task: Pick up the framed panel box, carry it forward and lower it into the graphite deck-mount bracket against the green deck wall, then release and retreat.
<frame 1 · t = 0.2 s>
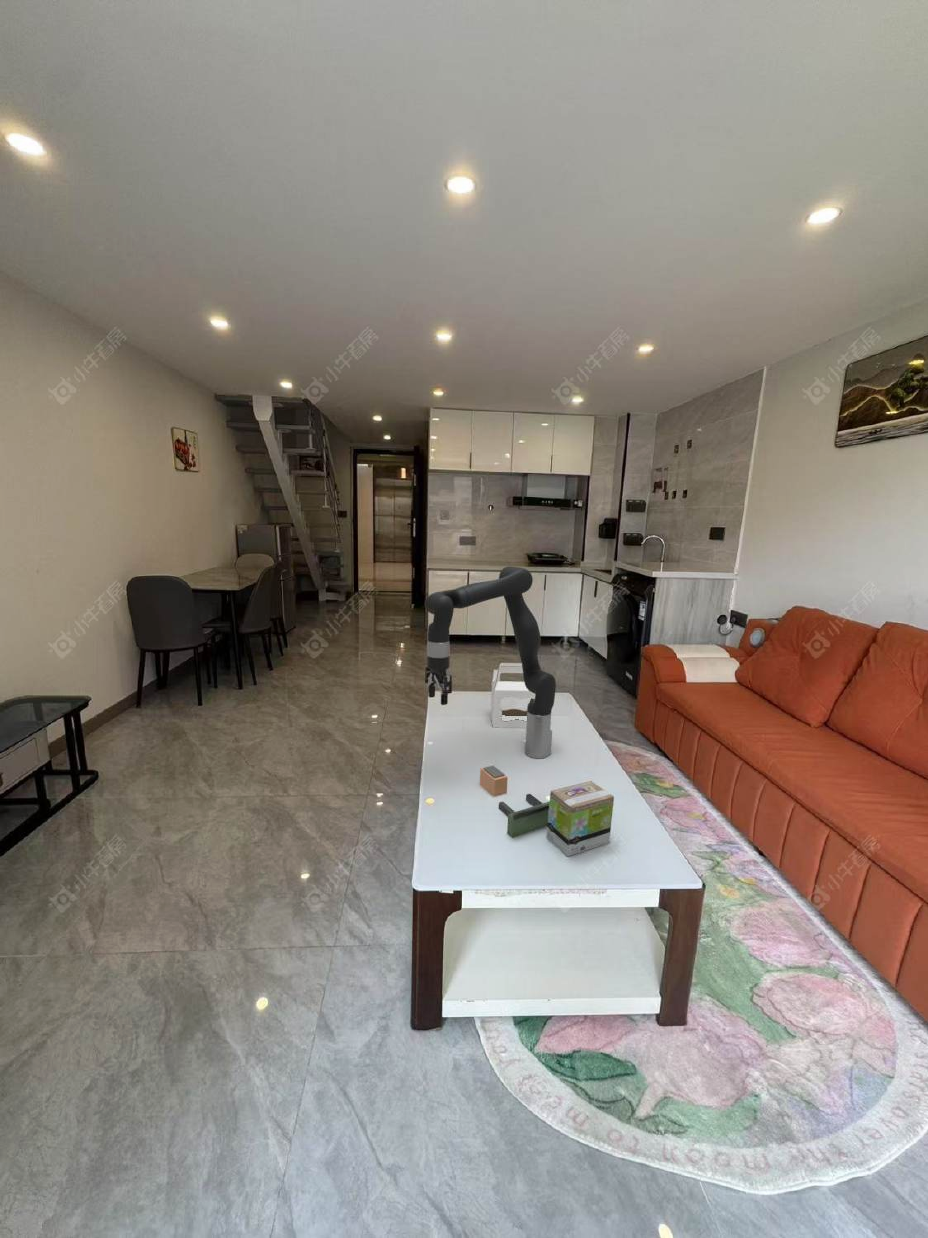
hand: (437, 700, 168), 29 cm above the table, fingers open, 8 cm apart
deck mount: (525, 813, 154), on the table
tea box: (578, 841, 141), on the table
framed panel box: (493, 789, 168), on the table
gable box: (515, 723, 226), on the table
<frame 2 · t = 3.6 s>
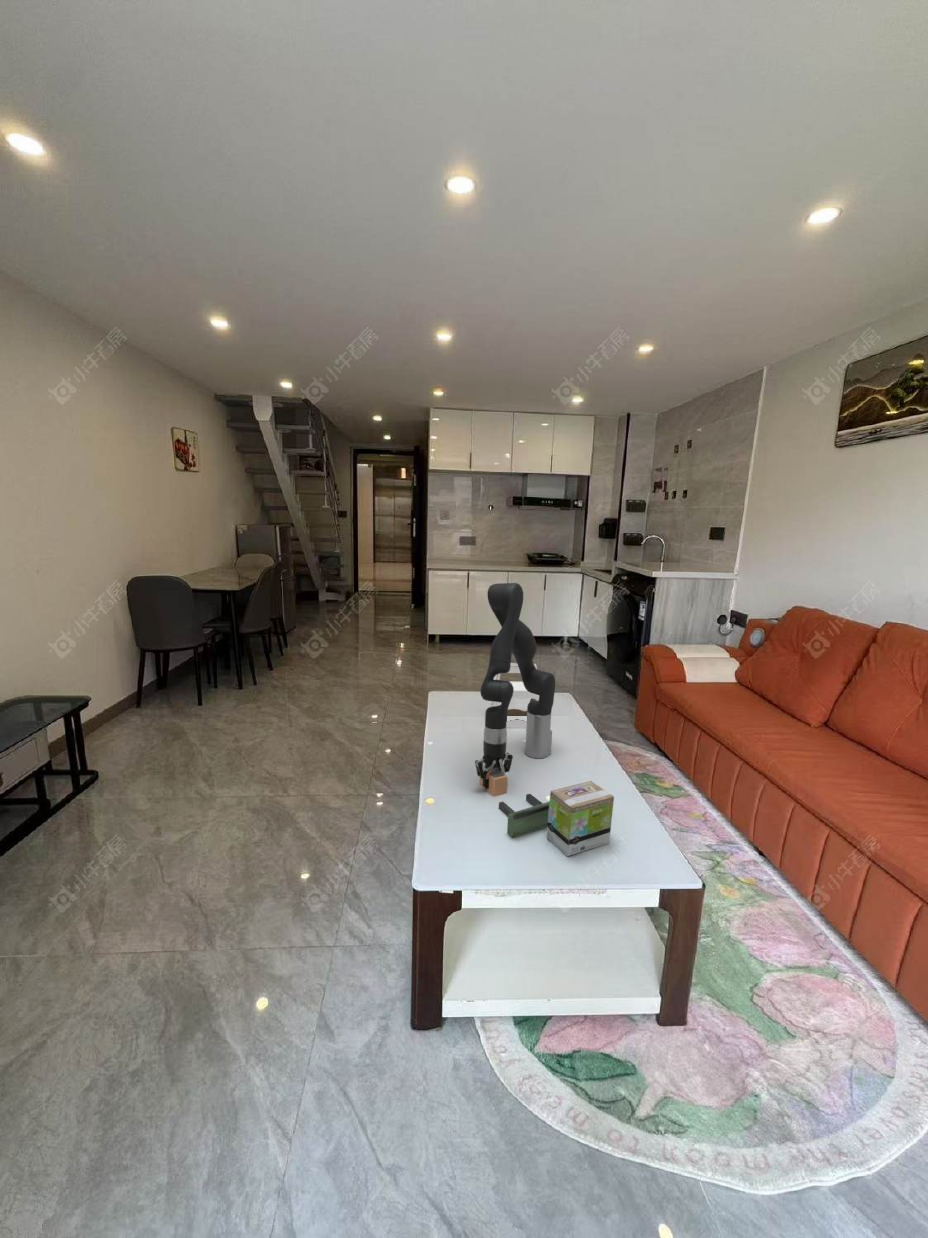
hand: (493, 786, 168), 1 cm above the table, fingers closed on framed panel box, 5 cm apart
framed panel box: (493, 788, 168), on the table, touching gripper
everything else where it was.
when the fingers open (3 cm above the table, at t = 8.5 s): framed panel box drops 2 cm, resting in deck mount.
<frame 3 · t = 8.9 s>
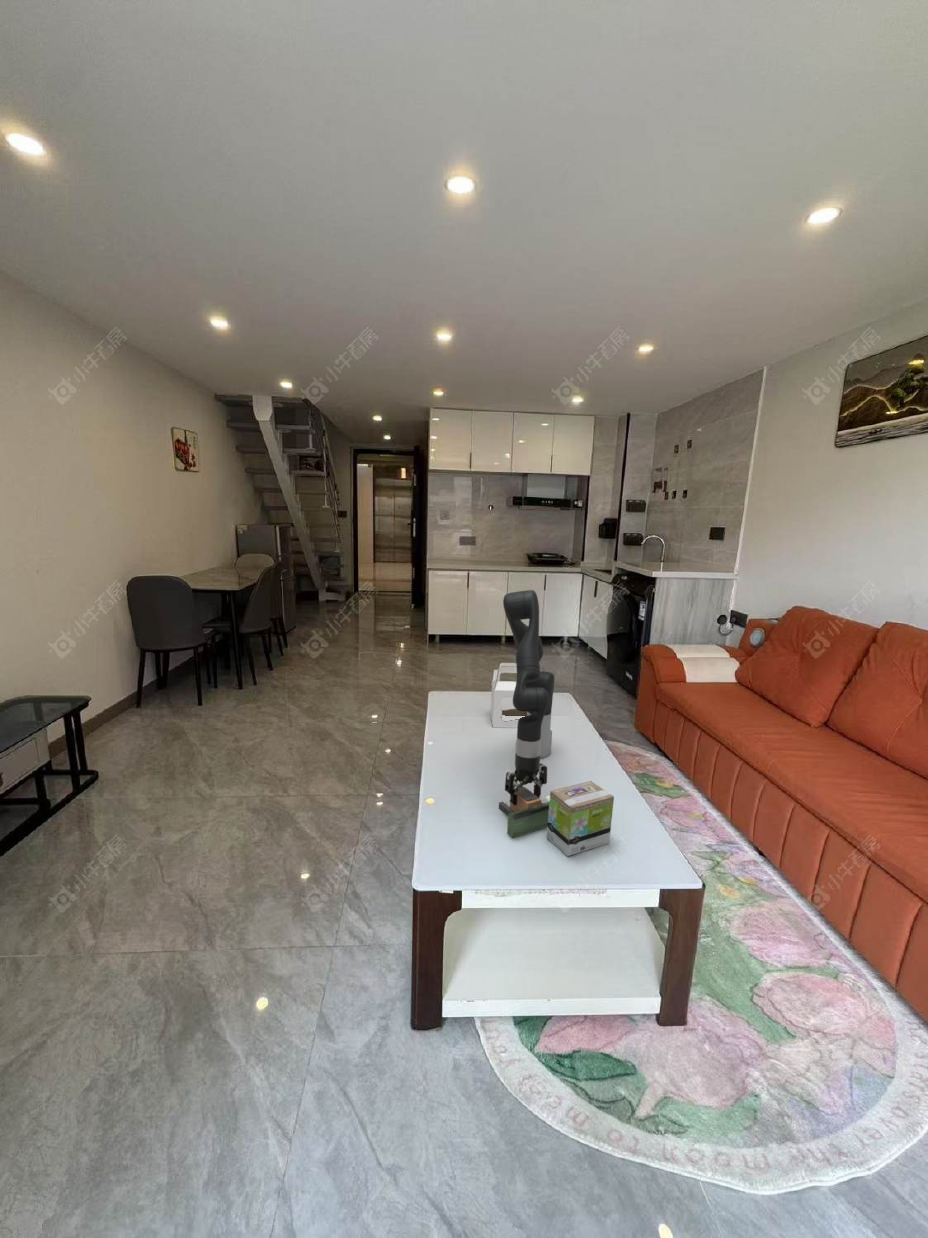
hand: (525, 800, 153), 4 cm above the table, fingers open, 8 cm apart
framed panel box: (524, 812, 154), resting in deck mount
everything else where it was.
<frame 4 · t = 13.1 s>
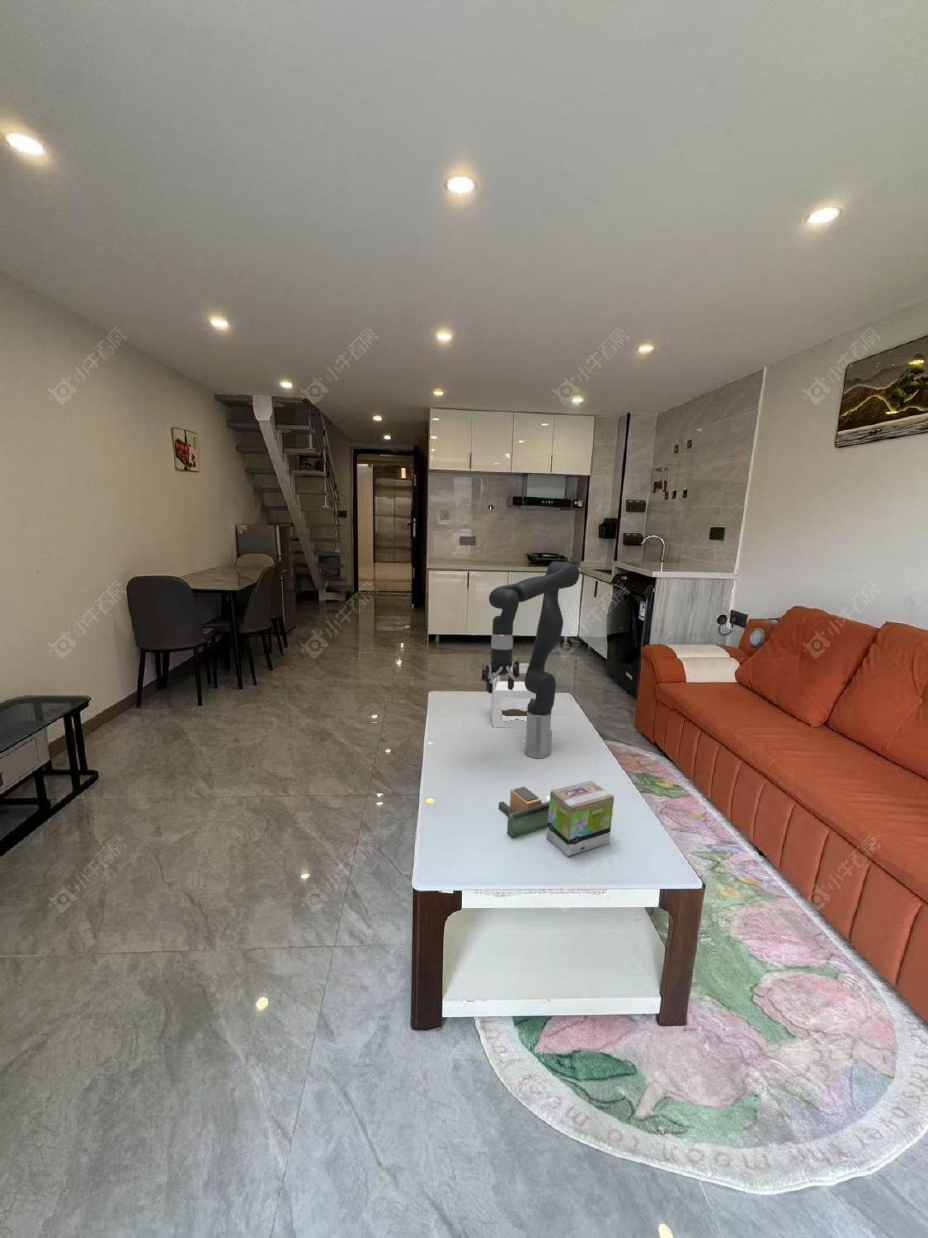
hand: (500, 691, 175), 30 cm above the table, fingers open, 8 cm apart
nothing on the table moved.
at the end: framed panel box inside the target area on the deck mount (0.1 cm from its centre), point 0.0 cm above the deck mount's base; framed panel box tilted 0°; the gripper is holding nothing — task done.
